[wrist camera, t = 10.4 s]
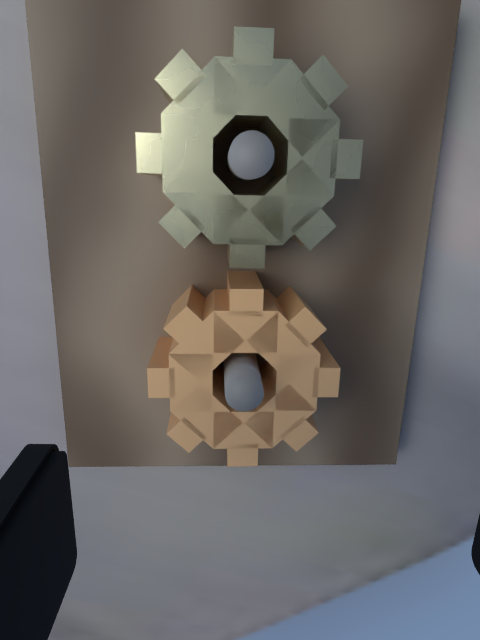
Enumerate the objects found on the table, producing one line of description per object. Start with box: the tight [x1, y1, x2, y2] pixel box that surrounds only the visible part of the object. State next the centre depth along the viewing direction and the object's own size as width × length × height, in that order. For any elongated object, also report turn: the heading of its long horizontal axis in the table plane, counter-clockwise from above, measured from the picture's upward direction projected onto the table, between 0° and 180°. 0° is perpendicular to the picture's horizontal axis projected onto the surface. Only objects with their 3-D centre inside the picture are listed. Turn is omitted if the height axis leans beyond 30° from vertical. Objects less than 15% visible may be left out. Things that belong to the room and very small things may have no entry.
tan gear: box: [147, 271, 341, 467], centre depth 19 cm, size 7×7×4 cm
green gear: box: [135, 26, 363, 269], centre depth 16 cm, size 7×7×4 cm
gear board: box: [25, 0, 461, 467], centre depth 18 cm, size 16×20×6 cm
